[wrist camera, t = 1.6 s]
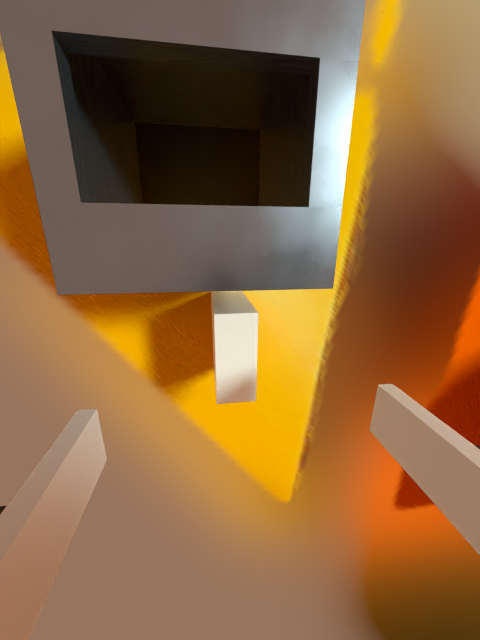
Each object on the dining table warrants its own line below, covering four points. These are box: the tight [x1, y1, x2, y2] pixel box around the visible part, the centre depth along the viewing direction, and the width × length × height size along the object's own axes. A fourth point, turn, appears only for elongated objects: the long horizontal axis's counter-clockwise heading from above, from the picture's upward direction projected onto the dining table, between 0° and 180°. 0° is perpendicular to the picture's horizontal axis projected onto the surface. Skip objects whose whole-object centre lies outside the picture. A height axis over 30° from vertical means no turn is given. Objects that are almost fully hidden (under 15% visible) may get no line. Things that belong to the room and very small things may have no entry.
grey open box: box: [0, 0, 365, 295], centre depth 15 cm, size 12×12×13 cm
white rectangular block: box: [211, 291, 258, 404], centre depth 22 cm, size 7×3×8 cm, turn 0°
